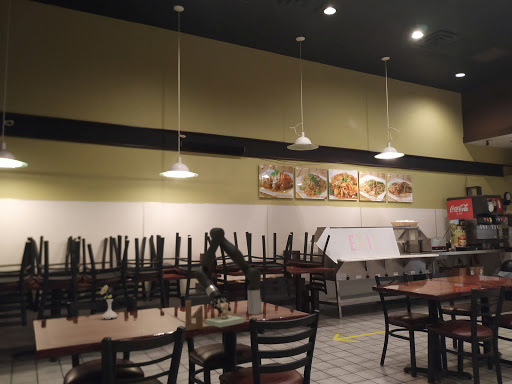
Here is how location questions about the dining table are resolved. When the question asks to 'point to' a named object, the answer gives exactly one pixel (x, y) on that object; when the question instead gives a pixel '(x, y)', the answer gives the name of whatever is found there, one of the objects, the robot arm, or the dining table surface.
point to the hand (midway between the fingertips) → (226, 311)
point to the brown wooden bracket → (197, 315)
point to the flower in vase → (109, 312)
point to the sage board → (224, 321)
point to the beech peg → (224, 310)
